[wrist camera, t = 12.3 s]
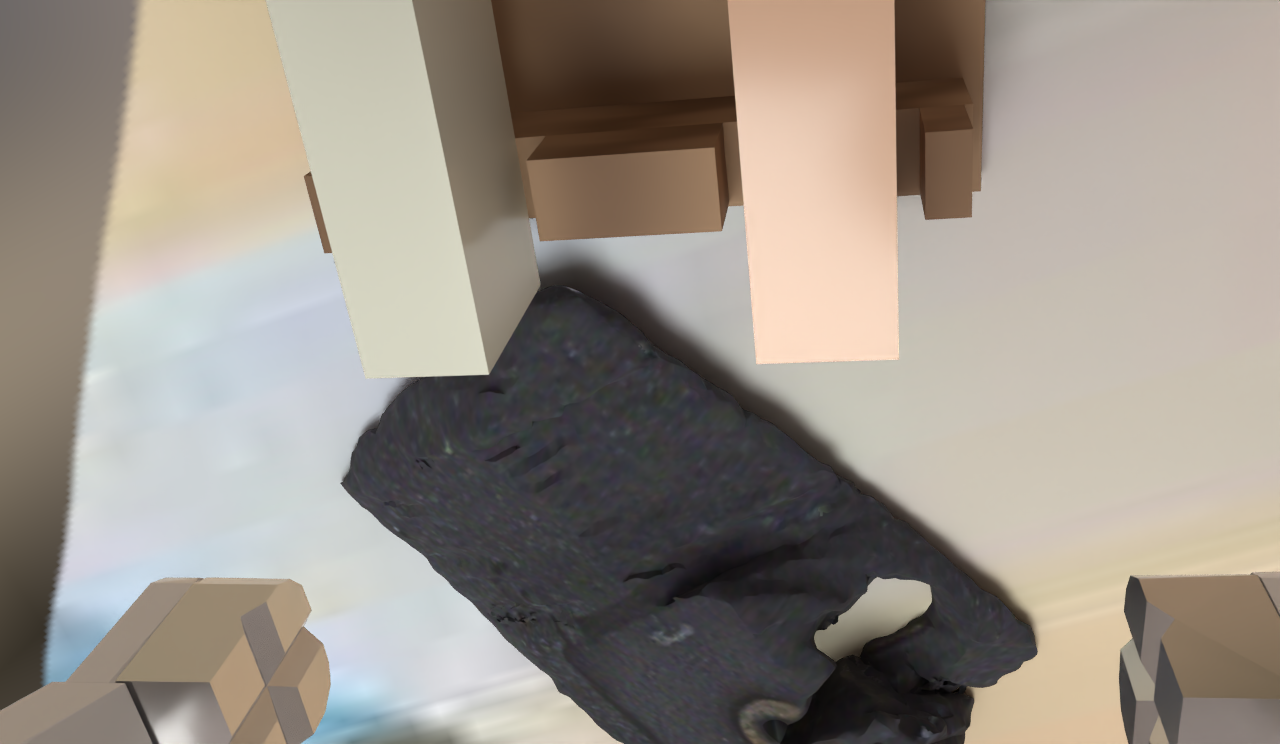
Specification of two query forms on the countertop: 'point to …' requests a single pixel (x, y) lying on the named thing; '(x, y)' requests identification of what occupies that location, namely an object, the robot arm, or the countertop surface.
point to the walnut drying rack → (700, 112)
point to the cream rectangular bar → (413, 176)
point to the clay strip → (818, 176)
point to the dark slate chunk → (671, 547)
